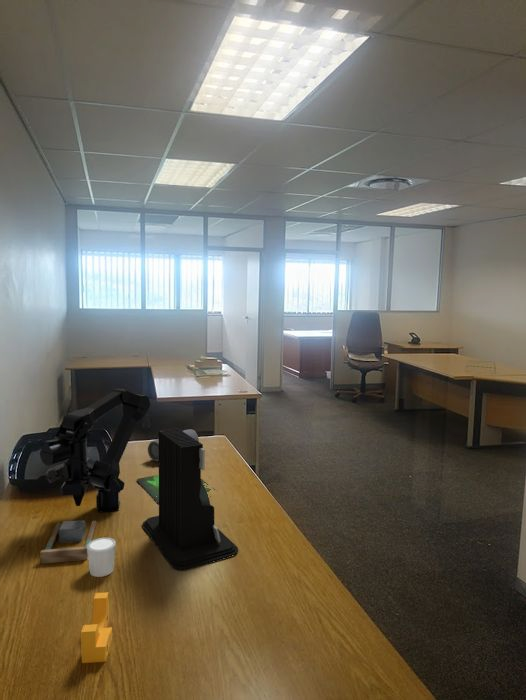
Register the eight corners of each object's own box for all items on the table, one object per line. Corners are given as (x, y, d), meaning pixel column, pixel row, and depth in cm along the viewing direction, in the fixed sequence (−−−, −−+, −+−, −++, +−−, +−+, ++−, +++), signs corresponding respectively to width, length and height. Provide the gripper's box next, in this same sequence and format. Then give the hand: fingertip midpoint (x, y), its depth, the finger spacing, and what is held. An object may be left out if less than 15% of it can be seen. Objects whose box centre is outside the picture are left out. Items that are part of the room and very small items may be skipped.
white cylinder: (121, 566, 123) (121, 539, 123) (104, 580, 117) (104, 553, 116) (99, 560, 126) (98, 535, 125) (81, 574, 119) (80, 547, 118)
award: (242, 554, 130) (243, 446, 127) (176, 573, 121) (176, 457, 117) (197, 510, 156) (197, 419, 153) (139, 523, 147) (138, 427, 143)
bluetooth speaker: (163, 466, 196) (162, 442, 195) (146, 461, 201) (146, 438, 200) (199, 451, 215) (199, 429, 214) (184, 448, 220) (184, 426, 219)
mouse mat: (221, 495, 170) (221, 492, 169) (161, 508, 158) (161, 505, 158) (189, 470, 192) (189, 468, 192) (134, 481, 181) (134, 478, 180)
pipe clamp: (105, 662, 91) (105, 630, 91) (81, 664, 91) (81, 631, 90) (117, 620, 103) (116, 591, 102) (96, 621, 103) (95, 592, 102)
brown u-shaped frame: (96, 524, 145) (96, 515, 145) (86, 559, 126) (86, 548, 126) (56, 527, 143) (56, 517, 143) (40, 563, 124) (40, 552, 123)
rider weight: (85, 533, 140) (85, 520, 140) (82, 542, 135) (81, 528, 135) (63, 534, 139) (63, 521, 139) (59, 543, 134) (59, 529, 134)
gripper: (54, 447, 152) (56, 494, 153) (40, 468, 133) (42, 522, 135) (92, 445, 154) (93, 492, 156) (82, 465, 136) (84, 518, 138)
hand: (78, 505), depth 146 cm, fingers closed
